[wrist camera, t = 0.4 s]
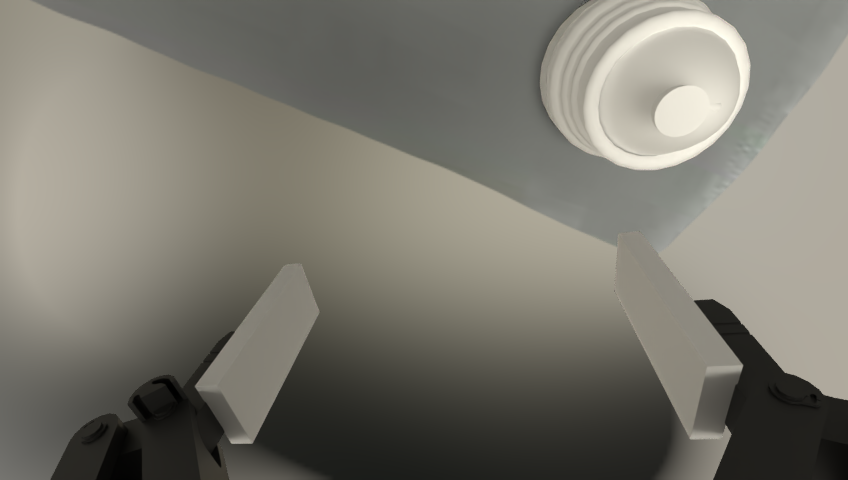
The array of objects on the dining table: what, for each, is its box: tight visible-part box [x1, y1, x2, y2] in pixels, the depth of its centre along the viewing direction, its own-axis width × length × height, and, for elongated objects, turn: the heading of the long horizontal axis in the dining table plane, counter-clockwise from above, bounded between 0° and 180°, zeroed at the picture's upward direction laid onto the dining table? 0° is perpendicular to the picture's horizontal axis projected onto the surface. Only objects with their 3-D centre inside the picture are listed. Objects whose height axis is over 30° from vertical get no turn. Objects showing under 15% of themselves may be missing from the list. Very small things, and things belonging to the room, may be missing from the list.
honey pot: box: [540, 0, 750, 170], centre depth 28 cm, size 13×13×18 cm
